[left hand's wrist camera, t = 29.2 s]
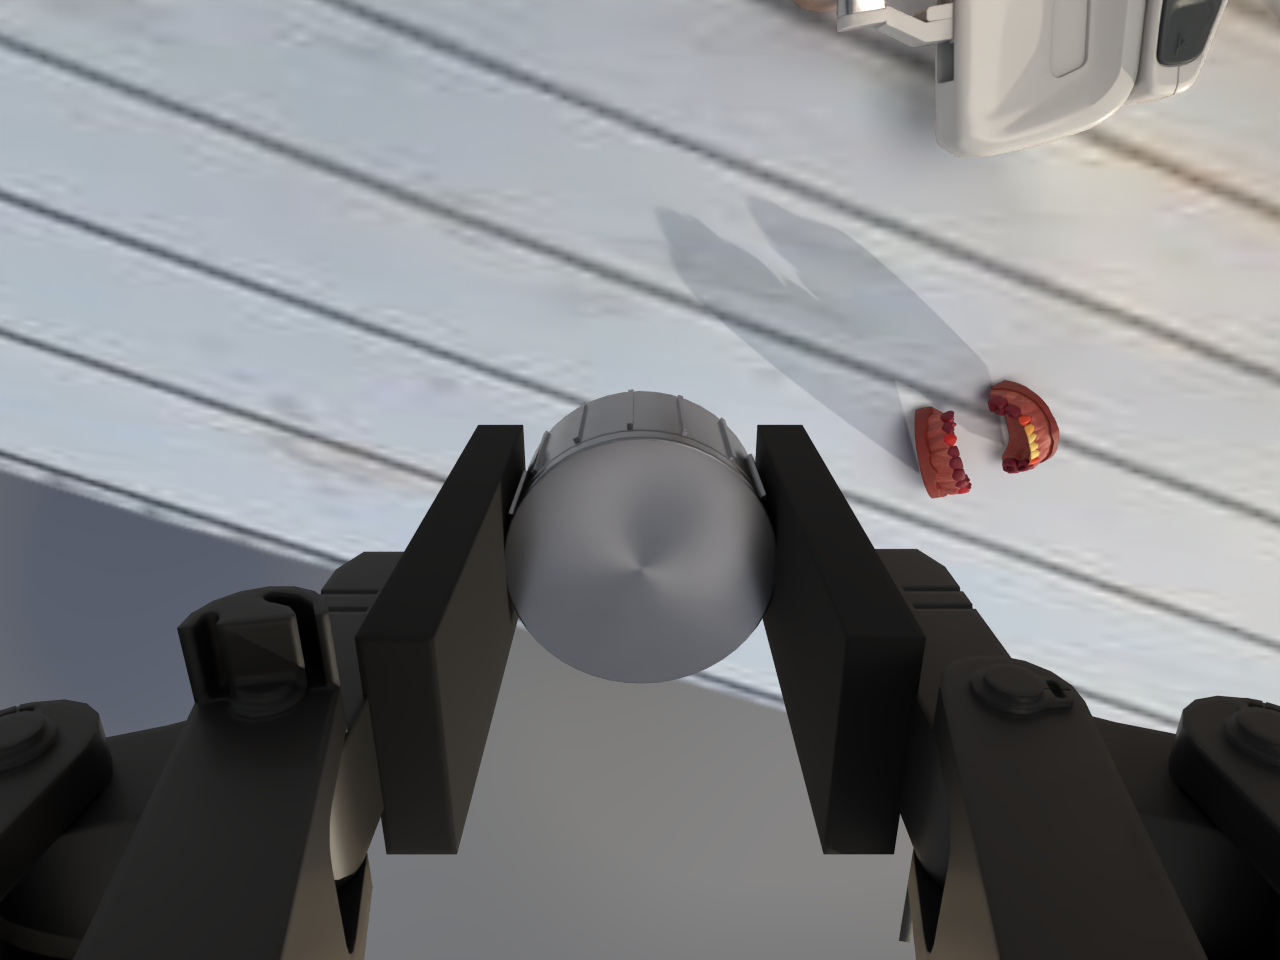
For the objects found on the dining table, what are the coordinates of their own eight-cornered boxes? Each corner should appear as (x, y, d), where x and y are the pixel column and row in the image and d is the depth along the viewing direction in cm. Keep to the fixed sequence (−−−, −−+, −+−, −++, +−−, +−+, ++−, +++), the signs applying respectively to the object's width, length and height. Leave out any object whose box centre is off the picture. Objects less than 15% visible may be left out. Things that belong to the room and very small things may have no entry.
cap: (514, 595, 15) (493, 671, 13) (530, 374, 13) (509, 419, 11) (738, 617, 15) (755, 697, 13) (779, 403, 14) (805, 453, 11)
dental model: (1075, 478, 47) (936, 521, 49) (1043, 454, 51) (916, 494, 52) (1057, 388, 46) (913, 435, 47) (1025, 370, 50) (893, 414, 51)
